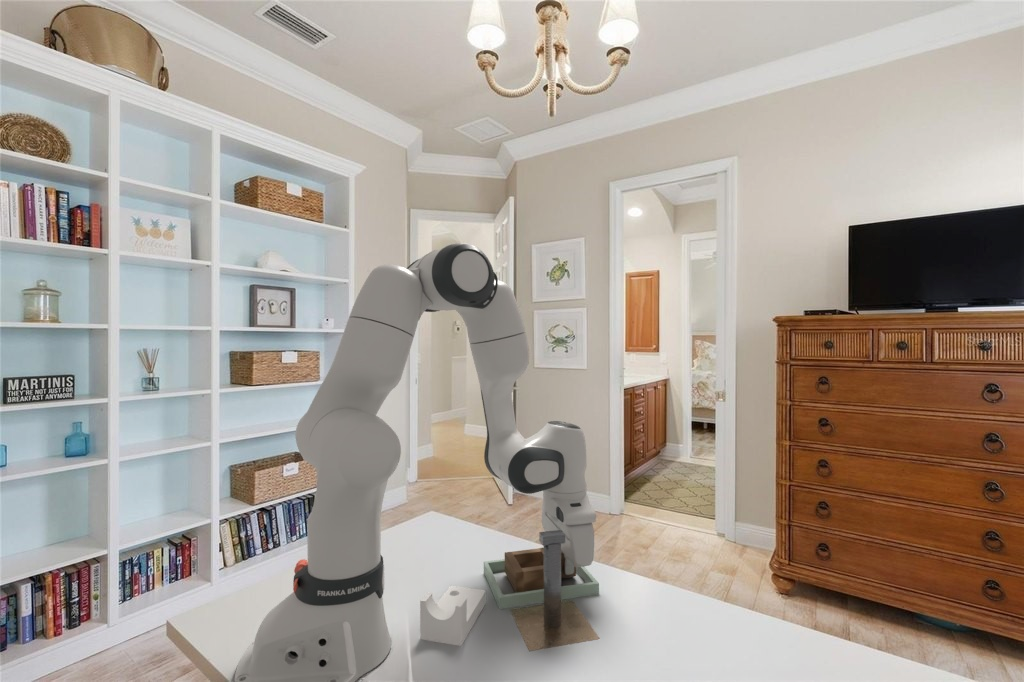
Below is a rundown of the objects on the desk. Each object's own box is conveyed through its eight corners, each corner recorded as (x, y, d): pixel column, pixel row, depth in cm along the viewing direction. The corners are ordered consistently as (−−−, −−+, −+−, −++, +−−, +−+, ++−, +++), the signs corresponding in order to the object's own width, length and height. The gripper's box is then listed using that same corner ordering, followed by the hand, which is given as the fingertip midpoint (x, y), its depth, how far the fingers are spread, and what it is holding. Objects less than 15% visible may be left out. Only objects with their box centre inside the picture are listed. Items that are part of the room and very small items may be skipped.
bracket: (461, 653, 77) (461, 606, 77) (420, 646, 79) (420, 600, 78) (486, 609, 89) (485, 568, 89) (450, 604, 91) (450, 564, 91)
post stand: (529, 657, 75) (528, 552, 75) (510, 614, 87) (509, 523, 87) (599, 644, 78) (599, 543, 78) (572, 605, 90) (571, 517, 90)
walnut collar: (516, 593, 91) (516, 572, 91) (504, 571, 100) (504, 552, 100) (582, 584, 94) (582, 563, 94) (565, 563, 103) (565, 545, 103)
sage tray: (499, 614, 87) (499, 597, 87) (483, 575, 101) (483, 561, 101) (599, 598, 92) (599, 583, 92) (570, 564, 106) (570, 550, 106)
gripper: (534, 487, 107) (535, 548, 107) (568, 520, 88) (568, 596, 88) (561, 484, 109) (561, 545, 109) (600, 516, 89) (600, 591, 89)
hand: (565, 568), depth 98 cm, fingers closed on walnut collar, 2 cm apart
